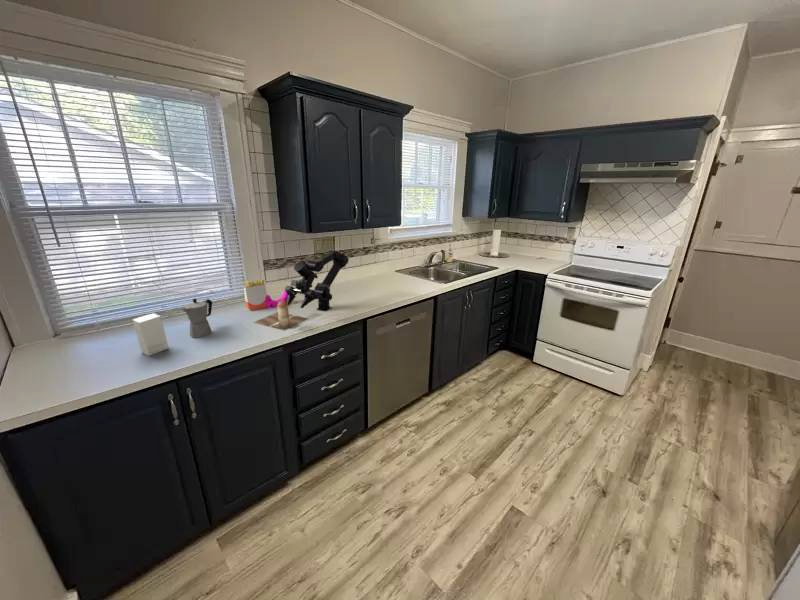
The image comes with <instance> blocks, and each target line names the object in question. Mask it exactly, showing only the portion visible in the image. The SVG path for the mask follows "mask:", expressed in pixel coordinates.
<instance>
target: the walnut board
mask: <svg viewBox="0 0 800 600" xmlns="http://www.w3.org/2000/svg"><path fill="white" fill-rule="evenodd" d="M309 319H310V317H309V318H308V317H304V316H299V315H296V314H291V313H289V323H290V326H289V327H287V328H280V327H279V318H278V311H277V312H275V313H273V314H270V315H267V316H265V317H263V318H261V319H258V320H256V321H253V322H252V323H254V324H256V325H262V326H264V327H268V328H273V329H276V330H280V331H284V332H285V331H287V330H289V329H292V328H293V327H295V326H297V325H299V324H301V323H303V322H306V321H308V320H309Z"/></svg>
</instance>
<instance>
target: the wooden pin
mask: <svg viewBox="0 0 800 600" xmlns="http://www.w3.org/2000/svg"><path fill="white" fill-rule="evenodd" d="M276 308H277V312H278V318H279V327H280V328H287V327H289V326H290V323H289V314H290V313H289V306H288V304H287V303H286V302H285V301H280V302H278V304H277V307H276Z"/></svg>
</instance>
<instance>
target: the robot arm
mask: <svg viewBox="0 0 800 600" xmlns="http://www.w3.org/2000/svg"><path fill="white" fill-rule="evenodd" d="M349 260H350V259H349V257H348V256H347V254H346V255H345V254H344V253H342V252H339V251H338V250H332V249H331V250H329V251H328V252H327V253H325V254H324V255H322V256H320V257H318V258H313V259H310V260H308V261H307V262H306V261H305V260H300V261H299V262H297V263H296V264H295V265H294V266H293V270H294V271H295V272H296V273H297V274H298V275H299V276H301V277H302V278H301V279H299V280H298V279H291V281H290V285H286V286H285V288H284V291H286V292H287V294H288V300H287V304H288V307H289V306H290V305H291V304H292V303H293V301H294V300H295V298H296V297H297V296H296V295H298V294H299V295H304V298H303V301H302V302H301V305H300V308H301V309H303V308H304V307H306V306H307V305H308V304H309V303H311V302H313V301H315V300H318V302H317V303H318V304H317V305H318V308H316V310H318V311H322V312H327V311H329V310H331V309H332V306H330V301H331V300H333V295H332V293H331V286H332V284H333V282H334V280H335V279H336V277H337V275H338V274H339V272H340V271H341V270H342V269H343V268H345V267H346V265H348V263H349ZM331 261H332V263H333V264H332V266H331V268H330V270H329V271H328V272H327V274H326V276H325V277H324V279H323V281H322V282H317V283H316V285H315V286H314V289H310V288H313V285H312V284H313V283H314V281H315V279H318V278H319V276H318V273H319V272H321V271H322V270H323V269H324V268H325V267H324V266H326V265H327V264H328V263H330V262H331ZM315 272H316V273H315Z"/></svg>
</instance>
